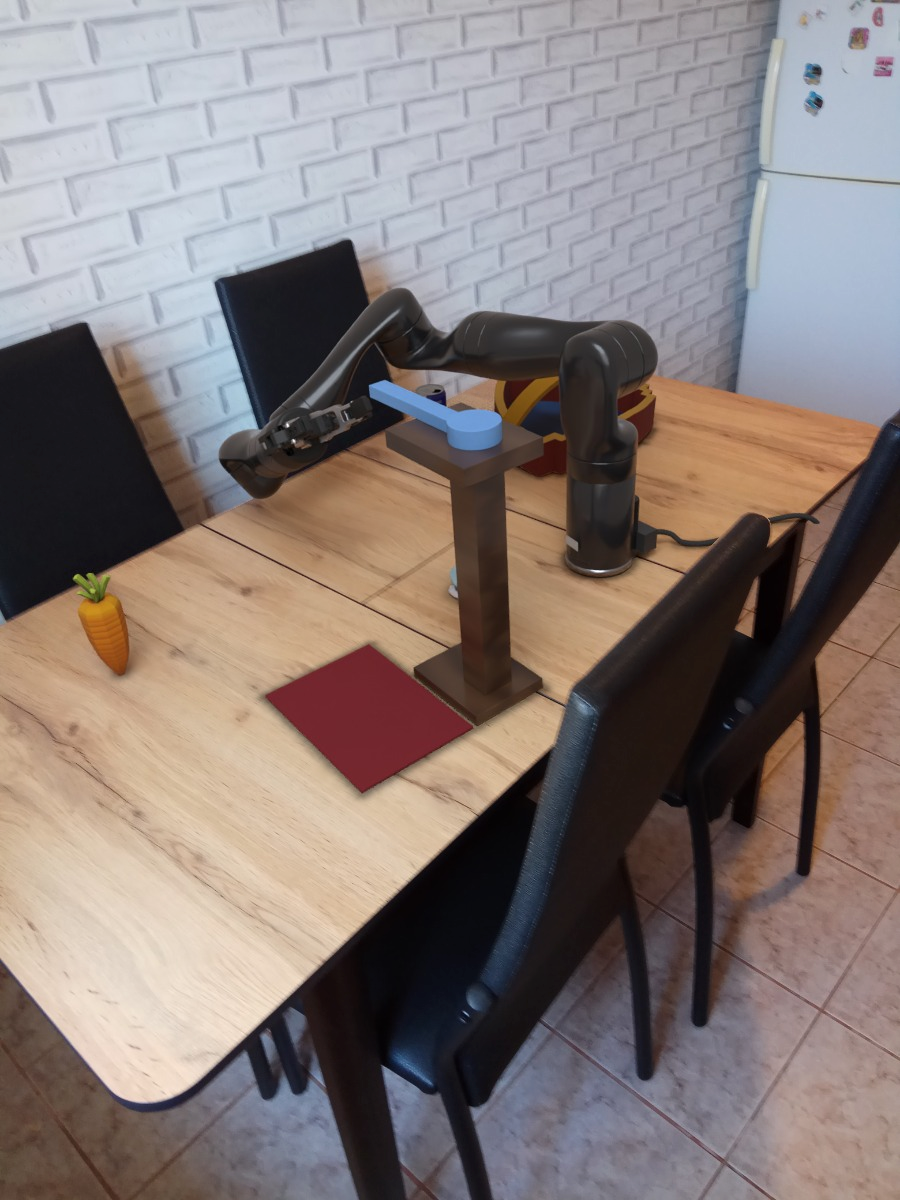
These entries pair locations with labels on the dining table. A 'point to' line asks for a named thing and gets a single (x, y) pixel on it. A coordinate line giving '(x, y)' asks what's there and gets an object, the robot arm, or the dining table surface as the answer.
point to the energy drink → (433, 393)
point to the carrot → (104, 622)
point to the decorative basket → (540, 414)
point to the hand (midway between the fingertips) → (338, 413)
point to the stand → (475, 567)
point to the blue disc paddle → (444, 417)
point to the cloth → (367, 716)
